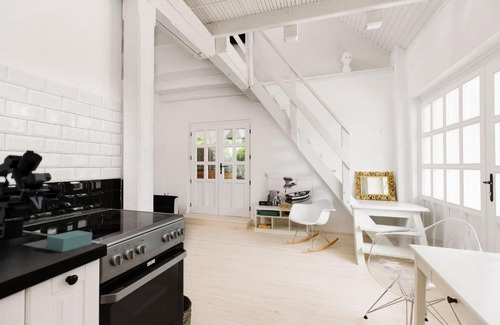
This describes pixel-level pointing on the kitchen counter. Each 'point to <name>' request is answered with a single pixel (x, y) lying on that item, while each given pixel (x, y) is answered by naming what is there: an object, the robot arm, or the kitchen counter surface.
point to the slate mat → (39, 244)
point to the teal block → (69, 240)
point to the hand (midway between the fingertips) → (39, 210)
